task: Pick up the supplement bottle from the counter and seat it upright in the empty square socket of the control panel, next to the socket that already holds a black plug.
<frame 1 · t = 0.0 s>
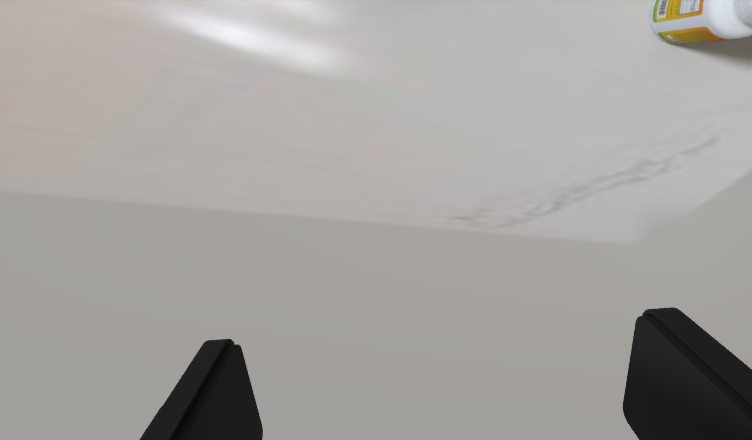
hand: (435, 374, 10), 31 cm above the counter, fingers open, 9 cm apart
supplement bottle: (678, 10, 34), on the counter
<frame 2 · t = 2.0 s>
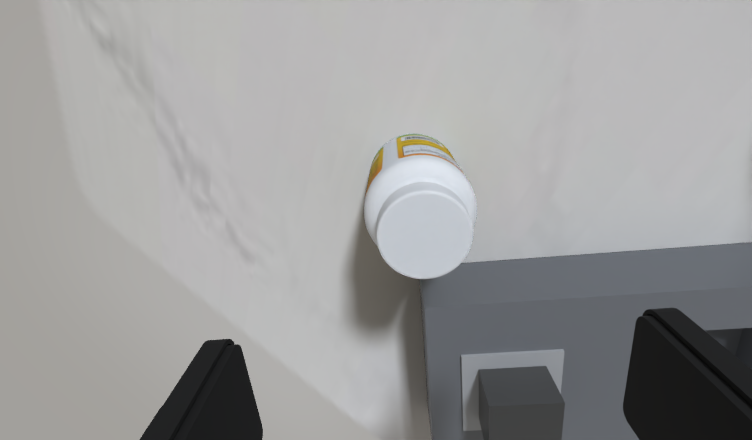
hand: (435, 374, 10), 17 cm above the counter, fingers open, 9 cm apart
control panel: (589, 333, 29), on the counter
supplement bottle: (412, 174, 26), on the counter
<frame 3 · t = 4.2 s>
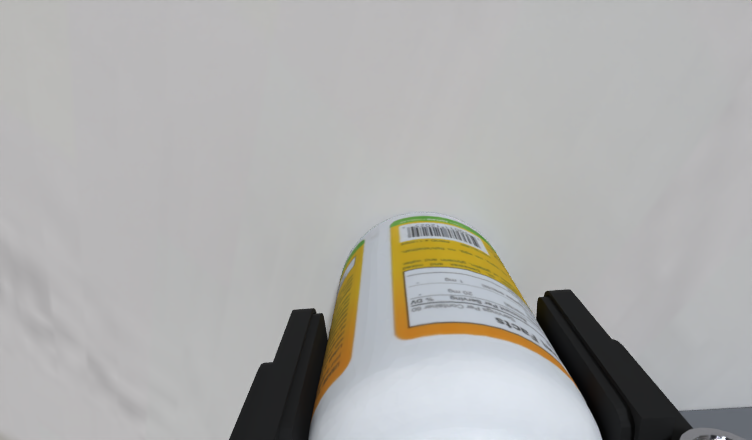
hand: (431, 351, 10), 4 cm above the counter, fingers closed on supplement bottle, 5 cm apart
supplement bottle: (419, 279, 14), on the counter, touching gripper
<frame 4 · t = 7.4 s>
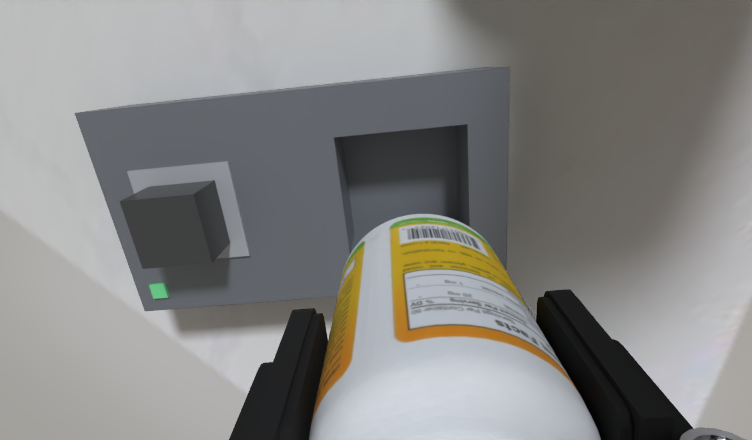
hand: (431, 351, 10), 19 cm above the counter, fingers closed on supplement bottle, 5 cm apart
control panel: (318, 181, 29), on the counter
supplement bottle: (419, 280, 14), point 16 cm above the counter, touching gripper
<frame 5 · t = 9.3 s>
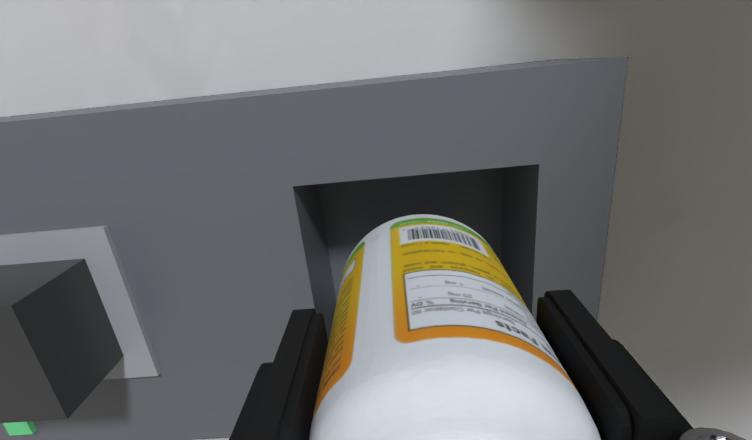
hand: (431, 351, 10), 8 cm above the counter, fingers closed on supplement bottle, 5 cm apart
control panel: (282, 237, 19), on the counter
supplement bottle: (420, 281, 14), point 5 cm above the counter, touching gripper
when the fingers open (6 cm above the counter, at t = 10.6 s): supplement bottle drops 2 cm, resting on control panel.
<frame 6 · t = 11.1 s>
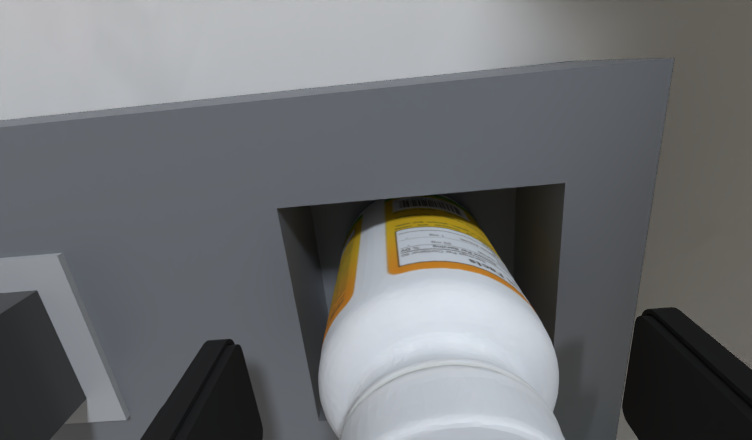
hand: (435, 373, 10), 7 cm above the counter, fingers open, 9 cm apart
control panel: (270, 257, 17), on the counter
supplement bottle: (412, 251, 16), point 1 cm above the counter, touching control panel
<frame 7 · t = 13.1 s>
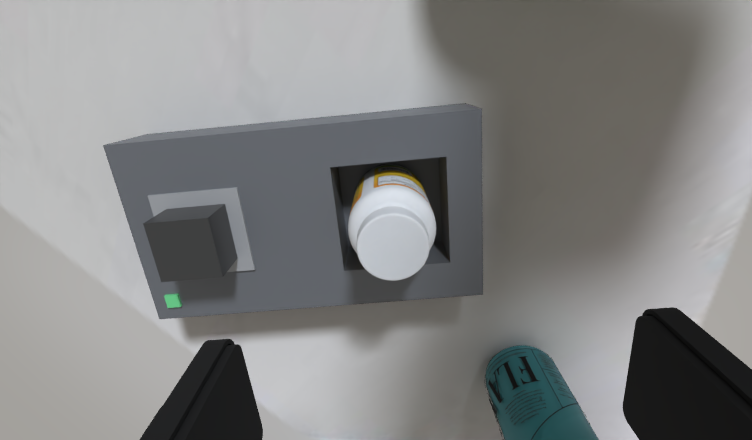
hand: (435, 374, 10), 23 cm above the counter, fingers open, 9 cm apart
beverage bottle: (513, 361, 37), on the counter
control panel: (315, 202, 32), on the counter
supplement bottle: (389, 197, 31), point 1 cm above the counter, touching control panel
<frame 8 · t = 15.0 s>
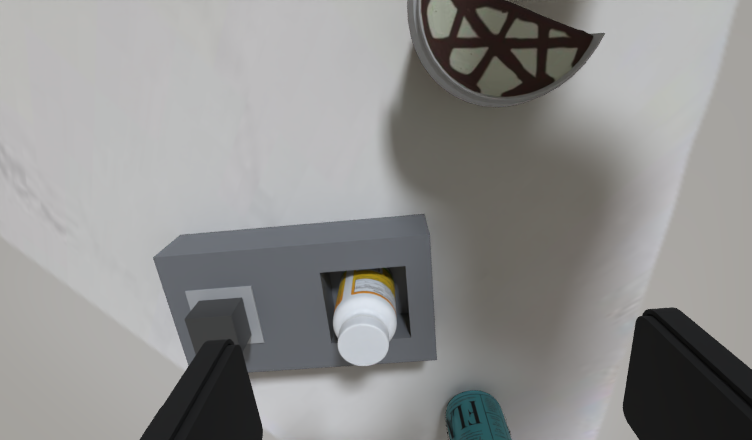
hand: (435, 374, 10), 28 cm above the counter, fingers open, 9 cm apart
beverage bottle: (469, 399, 47), on the counter
control panel: (310, 283, 41), on the counter
supplement bottle: (367, 281, 40), point 1 cm above the counter, touching control panel
food container: (463, 57, 33), on the counter
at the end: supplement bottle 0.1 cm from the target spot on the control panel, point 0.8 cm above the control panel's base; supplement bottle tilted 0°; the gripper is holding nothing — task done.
